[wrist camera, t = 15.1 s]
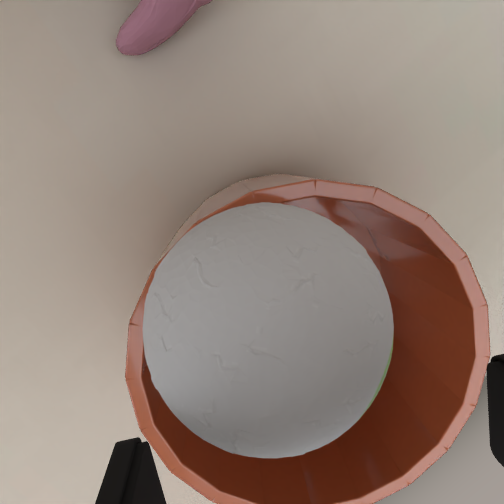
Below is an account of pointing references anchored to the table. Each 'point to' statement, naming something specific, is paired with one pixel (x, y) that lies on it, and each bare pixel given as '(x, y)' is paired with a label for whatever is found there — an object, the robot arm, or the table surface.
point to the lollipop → (268, 330)
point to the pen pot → (398, 374)
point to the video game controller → (154, 24)
